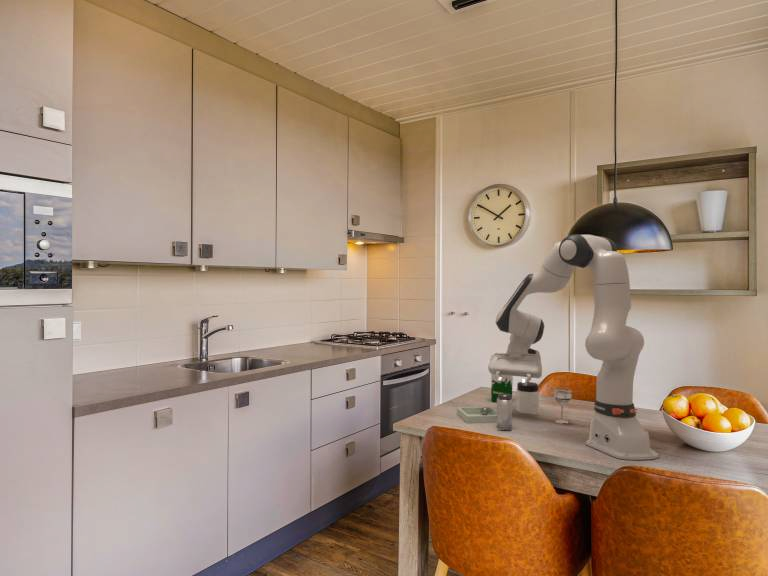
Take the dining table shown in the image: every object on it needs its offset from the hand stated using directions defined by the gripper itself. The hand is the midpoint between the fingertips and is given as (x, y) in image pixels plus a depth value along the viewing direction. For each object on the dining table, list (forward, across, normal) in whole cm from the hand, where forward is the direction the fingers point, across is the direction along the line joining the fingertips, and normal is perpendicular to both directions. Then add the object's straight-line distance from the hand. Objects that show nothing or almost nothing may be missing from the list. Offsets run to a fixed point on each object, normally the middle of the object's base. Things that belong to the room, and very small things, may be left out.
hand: (511, 383), depth 197 cm
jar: (-2, +3, +23) cm, 23 cm away
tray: (+12, -11, +8) cm, 19 cm away
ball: (+8, -11, +12) cm, 18 cm away
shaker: (+18, 0, +3) cm, 18 cm away
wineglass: (+3, +17, +18) cm, 25 cm away
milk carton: (-13, -12, +34) cm, 38 cm away
